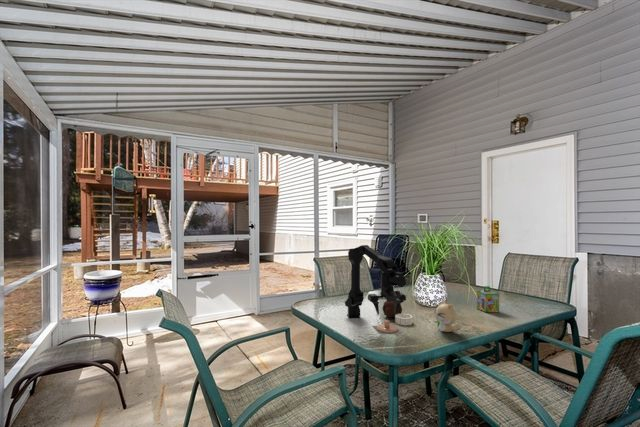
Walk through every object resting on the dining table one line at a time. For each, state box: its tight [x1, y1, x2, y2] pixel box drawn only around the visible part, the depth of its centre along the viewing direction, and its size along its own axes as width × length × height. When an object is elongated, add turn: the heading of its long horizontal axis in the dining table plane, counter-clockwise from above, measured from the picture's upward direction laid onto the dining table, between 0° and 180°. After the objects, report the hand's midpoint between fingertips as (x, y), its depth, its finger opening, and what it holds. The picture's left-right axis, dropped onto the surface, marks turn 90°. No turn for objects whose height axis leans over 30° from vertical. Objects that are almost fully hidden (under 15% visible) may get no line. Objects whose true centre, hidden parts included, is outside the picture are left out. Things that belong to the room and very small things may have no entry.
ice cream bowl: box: [382, 300, 403, 319], centre depth 180 cm, size 11×11×15 cm
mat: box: [372, 324, 404, 335], centre depth 159 cm, size 12×12×1 cm
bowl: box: [394, 312, 414, 326], centre depth 170 cm, size 9×9×4 cm
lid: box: [376, 319, 399, 333], centre depth 159 cm, size 10×10×4 cm
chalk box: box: [476, 285, 500, 313], centre depth 193 cm, size 9×9×15 cm
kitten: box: [434, 298, 462, 333], centre depth 158 cm, size 15×10×15 cm, turn 4°
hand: (386, 314), depth 159 cm, fingers open, 9 cm apart
